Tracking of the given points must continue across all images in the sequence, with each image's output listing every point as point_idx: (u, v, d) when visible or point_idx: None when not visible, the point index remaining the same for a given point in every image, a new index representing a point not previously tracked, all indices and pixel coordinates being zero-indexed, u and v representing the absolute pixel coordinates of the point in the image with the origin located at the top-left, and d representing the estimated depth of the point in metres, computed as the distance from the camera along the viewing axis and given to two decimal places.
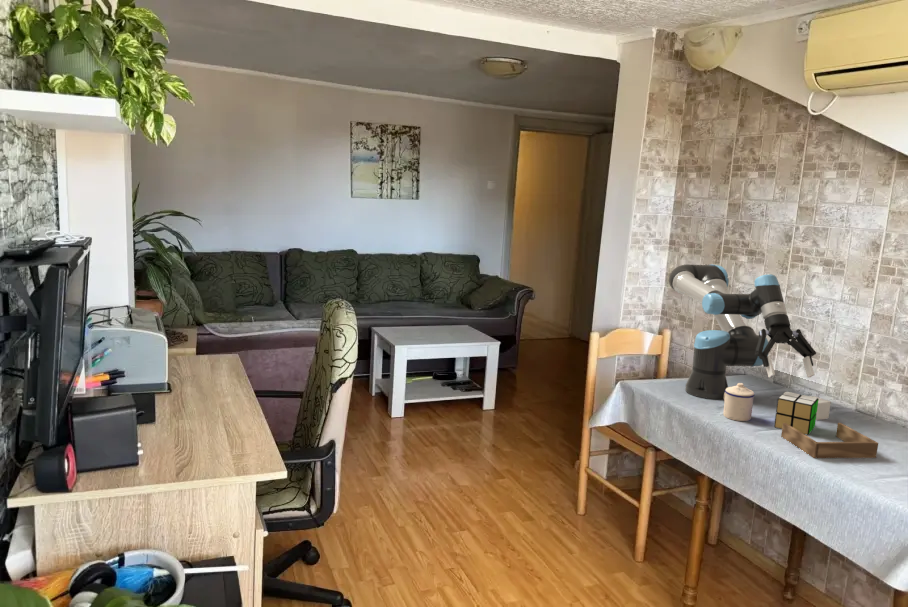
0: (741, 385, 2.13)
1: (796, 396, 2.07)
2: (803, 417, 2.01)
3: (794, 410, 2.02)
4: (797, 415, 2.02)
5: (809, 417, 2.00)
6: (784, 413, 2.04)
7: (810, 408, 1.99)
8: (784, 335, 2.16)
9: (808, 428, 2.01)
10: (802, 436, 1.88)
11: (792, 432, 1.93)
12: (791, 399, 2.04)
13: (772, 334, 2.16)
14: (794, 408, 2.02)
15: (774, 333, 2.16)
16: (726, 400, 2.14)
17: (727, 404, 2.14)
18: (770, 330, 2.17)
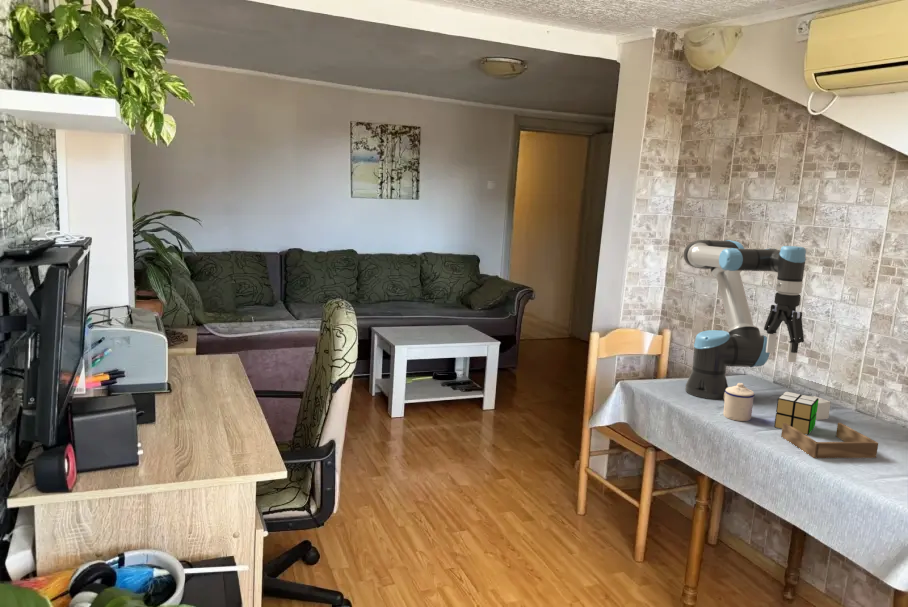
0: (741, 385, 2.13)
1: (796, 396, 2.07)
2: (803, 417, 2.01)
3: (794, 410, 2.02)
4: (797, 415, 2.02)
5: (809, 417, 2.00)
6: (784, 413, 2.04)
7: (810, 408, 1.99)
8: None
9: (808, 428, 2.01)
10: (802, 436, 1.88)
11: (792, 432, 1.93)
12: (791, 399, 2.04)
13: None
14: (794, 408, 2.02)
15: None
16: (726, 400, 2.14)
17: (727, 404, 2.14)
18: (776, 307, 2.16)
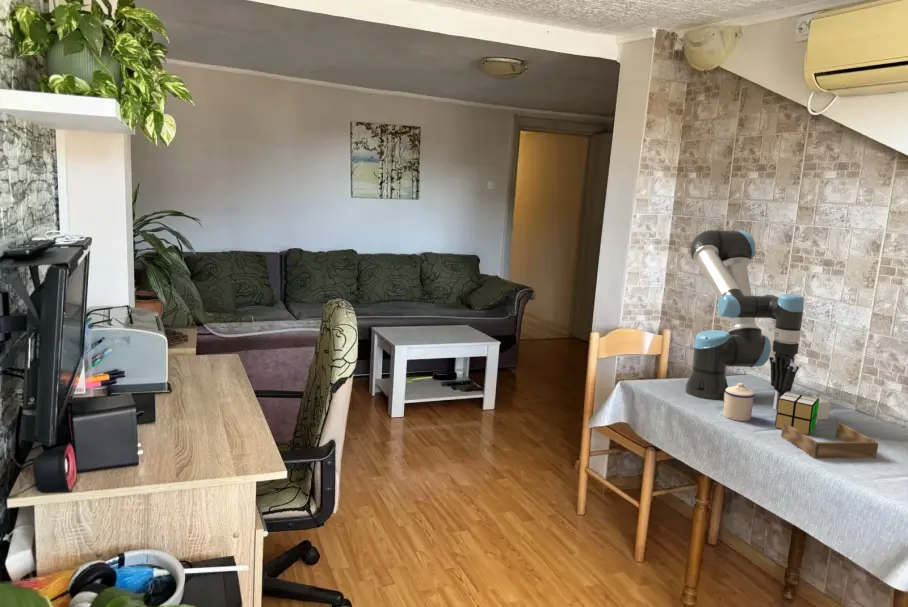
0: (741, 385, 2.13)
1: (797, 396, 2.07)
2: (804, 417, 2.01)
3: (795, 410, 2.02)
4: (798, 415, 2.02)
5: (810, 417, 2.00)
6: (785, 413, 2.04)
7: (811, 408, 1.99)
8: None
9: (809, 428, 2.00)
10: (802, 436, 1.88)
11: (792, 432, 1.93)
12: (792, 399, 2.04)
13: None
14: (795, 408, 2.02)
15: None
16: (726, 400, 2.14)
17: (727, 404, 2.14)
18: None
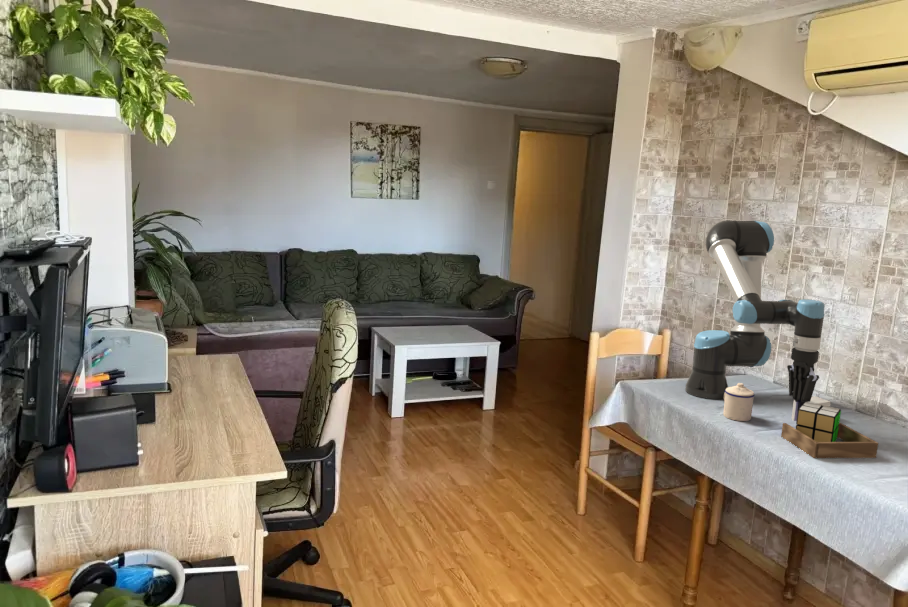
0: (741, 385, 2.13)
1: (817, 407, 1.97)
2: (825, 429, 1.91)
3: (816, 422, 1.92)
4: (819, 427, 1.92)
5: (832, 429, 1.89)
6: (805, 425, 1.94)
7: (833, 420, 1.89)
8: None
9: (831, 441, 1.90)
10: (802, 436, 1.88)
11: (792, 432, 1.93)
12: (812, 410, 1.94)
13: None
14: (816, 420, 1.92)
15: (795, 365, 2.06)
16: (726, 400, 2.14)
17: (727, 404, 2.14)
18: (793, 363, 2.07)
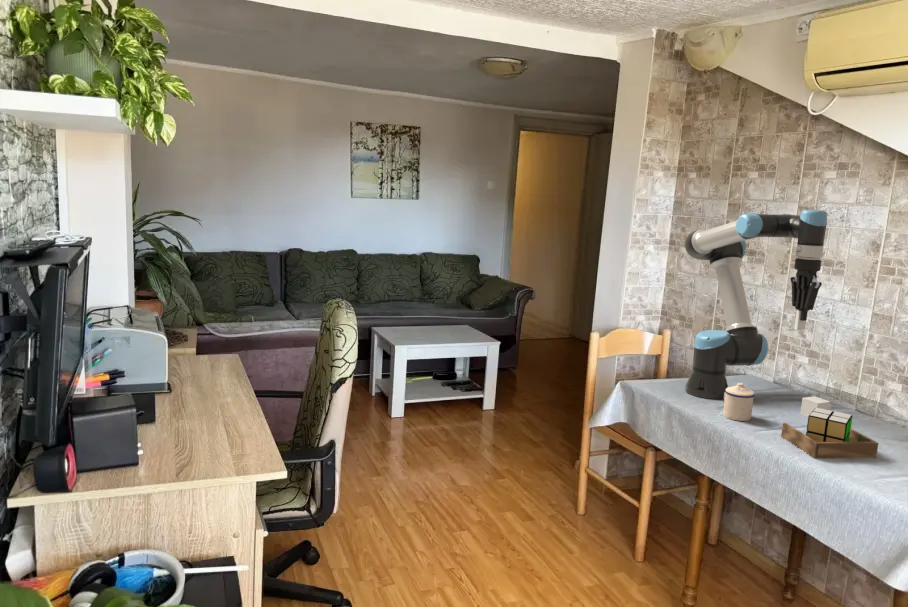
0: (741, 385, 2.13)
1: (828, 413, 1.92)
2: (837, 436, 1.86)
3: (827, 428, 1.87)
4: (830, 434, 1.87)
5: (843, 436, 1.85)
6: (816, 432, 1.89)
7: (845, 427, 1.84)
8: None
9: None
10: (802, 436, 1.88)
11: (792, 432, 1.93)
12: (823, 416, 1.89)
13: None
14: (827, 426, 1.87)
15: (798, 275, 2.10)
16: (726, 400, 2.14)
17: (727, 404, 2.14)
18: (796, 274, 2.12)
